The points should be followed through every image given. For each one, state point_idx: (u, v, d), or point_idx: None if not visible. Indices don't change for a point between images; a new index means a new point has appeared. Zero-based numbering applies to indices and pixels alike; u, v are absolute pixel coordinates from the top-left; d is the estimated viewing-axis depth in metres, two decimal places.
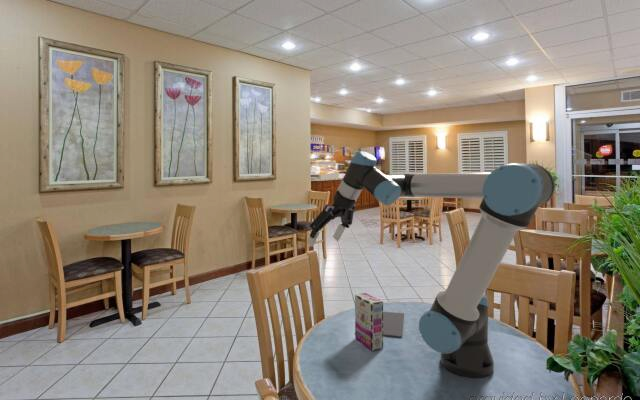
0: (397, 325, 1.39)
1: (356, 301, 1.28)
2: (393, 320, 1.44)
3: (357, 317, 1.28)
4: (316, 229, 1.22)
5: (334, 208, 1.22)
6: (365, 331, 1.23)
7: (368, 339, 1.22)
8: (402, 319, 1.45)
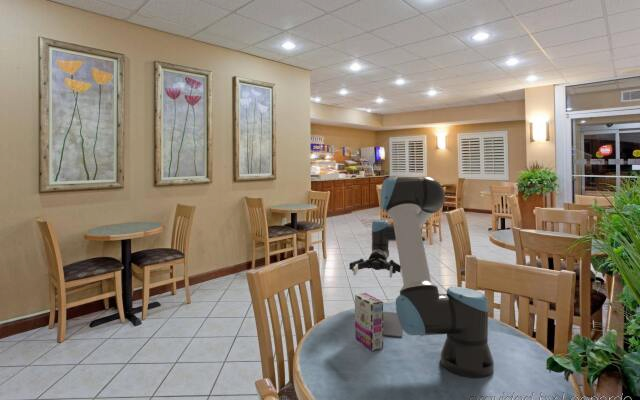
0: (397, 325, 1.39)
1: (356, 301, 1.28)
2: (393, 320, 1.44)
3: (357, 317, 1.28)
4: (352, 263, 1.46)
5: None
6: (365, 331, 1.23)
7: (368, 339, 1.22)
8: None
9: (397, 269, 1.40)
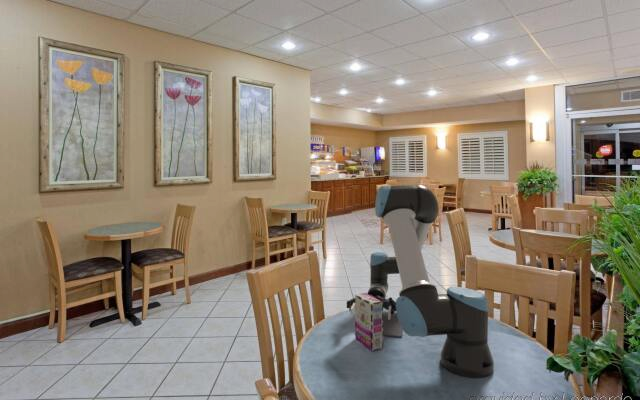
0: (397, 325, 1.39)
1: (356, 301, 1.28)
2: (393, 320, 1.44)
3: (357, 317, 1.28)
4: (349, 301, 1.41)
5: None
6: (365, 331, 1.23)
7: (368, 339, 1.22)
8: None
9: (396, 309, 1.35)
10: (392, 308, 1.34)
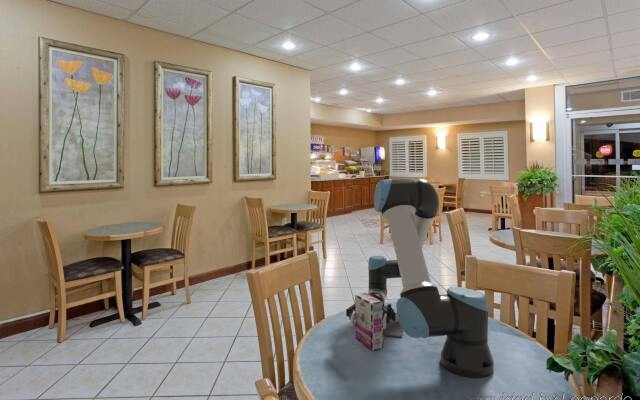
0: (397, 325, 1.39)
1: (356, 301, 1.28)
2: None
3: (357, 317, 1.28)
4: (349, 309, 1.32)
5: None
6: (365, 330, 1.23)
7: (368, 339, 1.22)
8: None
9: (392, 317, 1.27)
10: (388, 316, 1.26)
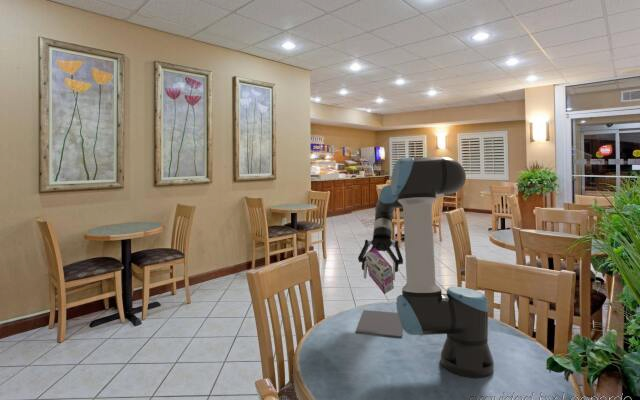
0: (397, 325, 1.39)
1: (366, 258, 1.40)
2: (393, 320, 1.44)
3: (369, 267, 1.44)
4: (361, 257, 1.46)
5: None
6: (377, 280, 1.42)
7: (381, 287, 1.43)
8: None
9: (399, 263, 1.42)
10: (396, 264, 1.41)
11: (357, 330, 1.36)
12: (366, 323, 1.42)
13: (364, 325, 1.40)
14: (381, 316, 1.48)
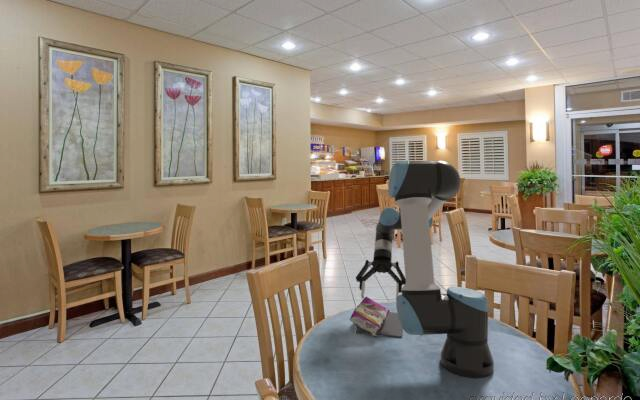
0: (397, 325, 1.39)
1: None
2: (393, 320, 1.44)
3: None
4: (358, 277, 1.48)
5: (372, 262, 1.53)
6: None
7: None
8: None
9: (403, 283, 1.44)
10: (399, 285, 1.43)
11: (357, 330, 1.36)
12: None
13: None
14: None
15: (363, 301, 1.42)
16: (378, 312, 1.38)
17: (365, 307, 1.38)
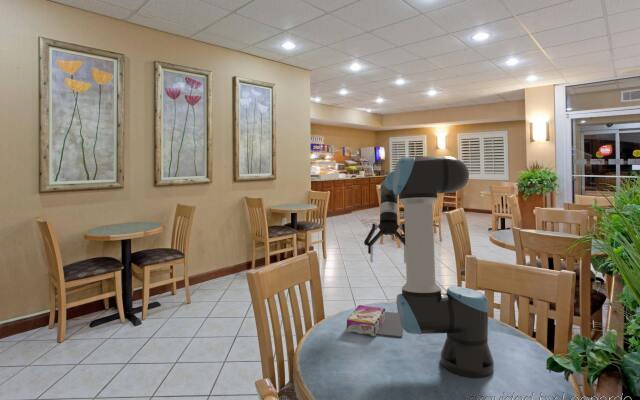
0: (397, 325, 1.39)
1: None
2: (393, 320, 1.44)
3: None
4: (366, 242, 1.53)
5: (378, 225, 1.56)
6: None
7: None
8: None
9: None
10: None
11: None
12: None
13: None
14: None
15: (356, 309, 1.43)
16: (373, 313, 1.39)
17: (359, 313, 1.39)
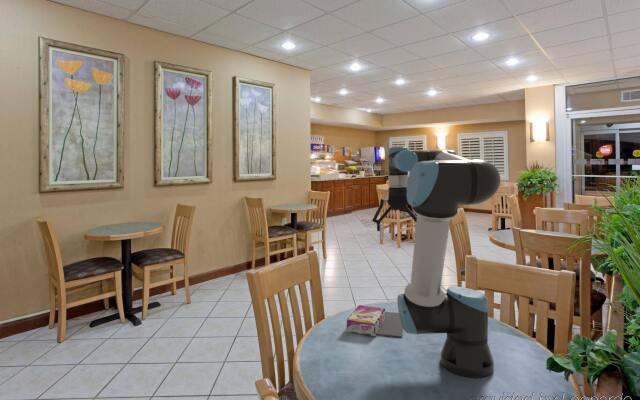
0: (397, 325, 1.39)
1: None
2: (393, 320, 1.44)
3: None
4: (375, 220, 1.44)
5: (387, 200, 1.43)
6: None
7: None
8: None
9: None
10: None
11: None
12: None
13: None
14: None
15: (356, 309, 1.43)
16: (373, 313, 1.39)
17: (359, 313, 1.39)
